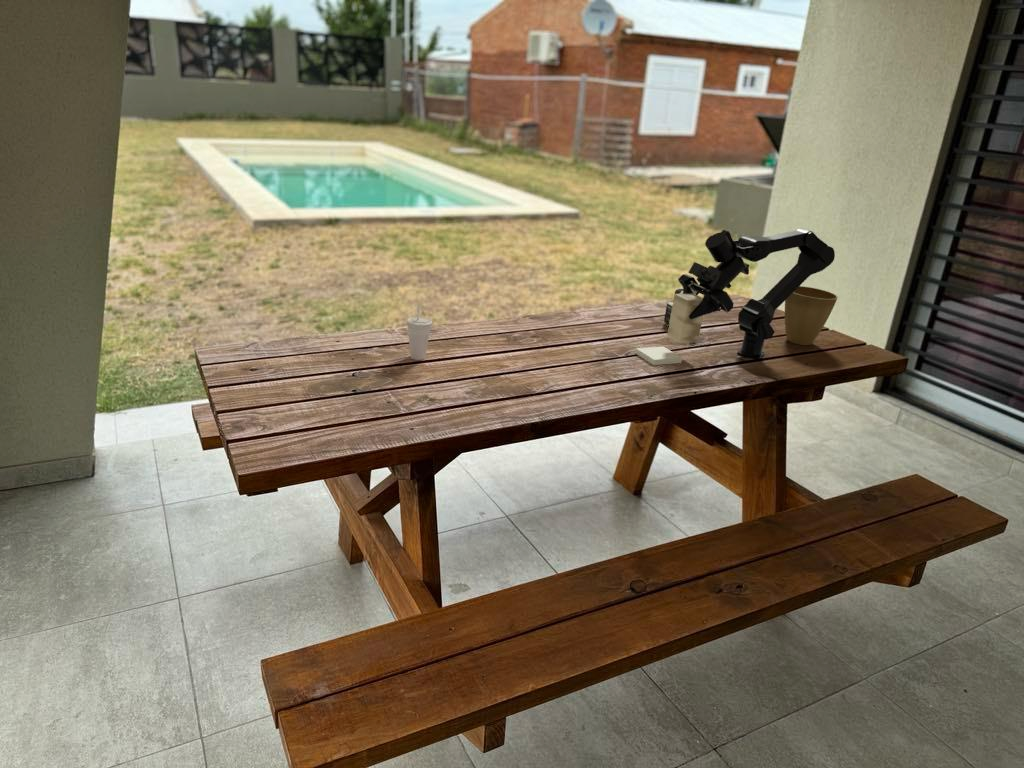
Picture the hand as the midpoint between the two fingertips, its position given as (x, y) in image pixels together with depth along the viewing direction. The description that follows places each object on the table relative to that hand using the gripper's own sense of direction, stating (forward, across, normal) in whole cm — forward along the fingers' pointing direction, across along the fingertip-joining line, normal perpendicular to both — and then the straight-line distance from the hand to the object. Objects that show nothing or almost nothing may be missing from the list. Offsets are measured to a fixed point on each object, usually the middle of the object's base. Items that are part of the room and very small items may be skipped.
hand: (682, 314), depth 199 cm
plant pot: (-28, -7, +46) cm, 54 cm away
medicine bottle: (-4, -25, +23) cm, 34 cm away
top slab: (+13, 0, +5) cm, 13 cm away
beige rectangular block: (+4, 0, +6) cm, 7 cm away
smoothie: (+58, -13, -40) cm, 72 cm away
